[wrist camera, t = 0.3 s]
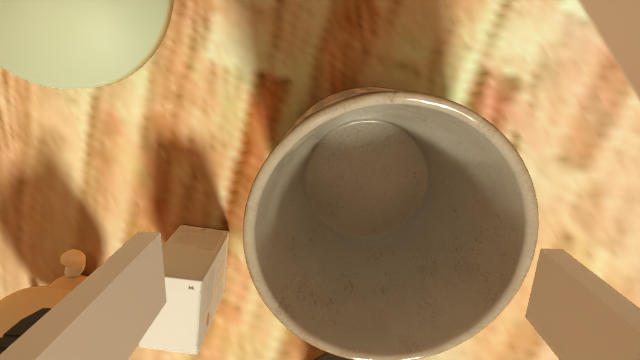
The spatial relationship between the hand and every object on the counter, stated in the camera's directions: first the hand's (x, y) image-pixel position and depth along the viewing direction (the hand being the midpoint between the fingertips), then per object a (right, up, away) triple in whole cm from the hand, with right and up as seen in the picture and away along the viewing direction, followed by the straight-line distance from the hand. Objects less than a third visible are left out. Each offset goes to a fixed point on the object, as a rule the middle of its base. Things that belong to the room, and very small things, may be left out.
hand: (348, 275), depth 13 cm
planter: (+4, +4, +28) cm, 28 cm away
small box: (-14, -6, +31) cm, 34 cm away
